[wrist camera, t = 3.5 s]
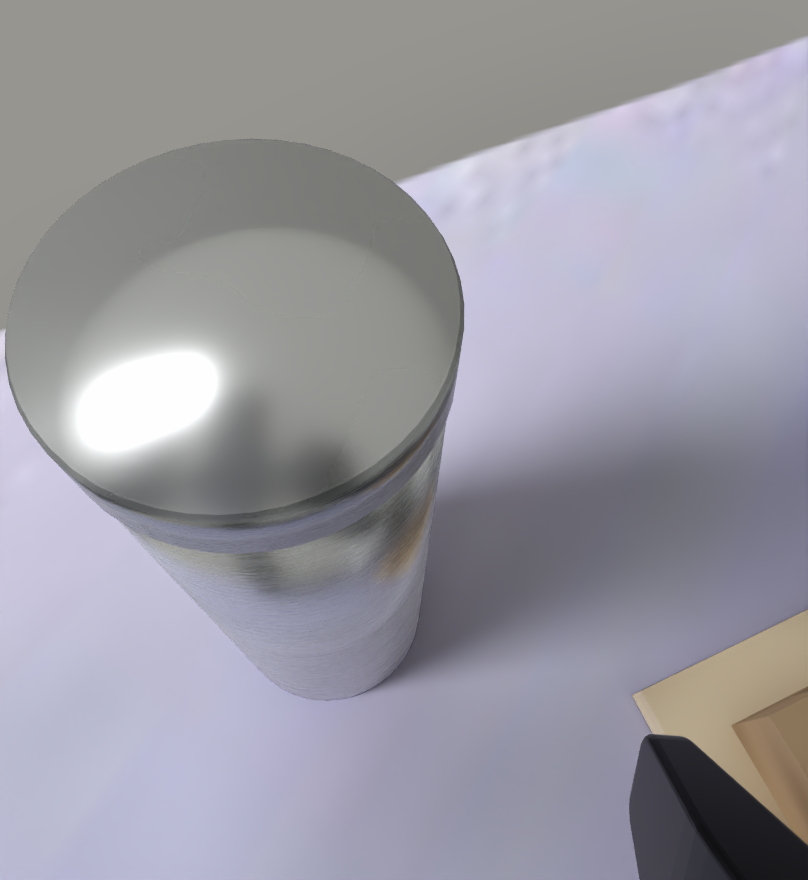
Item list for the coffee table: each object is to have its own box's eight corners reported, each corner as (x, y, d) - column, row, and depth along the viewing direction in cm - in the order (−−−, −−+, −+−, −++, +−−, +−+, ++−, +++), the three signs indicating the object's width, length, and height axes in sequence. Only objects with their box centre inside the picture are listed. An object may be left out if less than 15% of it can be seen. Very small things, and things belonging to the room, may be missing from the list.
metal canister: (451, 655, 19) (547, 405, 7) (273, 735, 18) (58, 598, 6) (378, 495, 21) (361, 92, 9) (214, 561, 20) (-38, 208, 8)
